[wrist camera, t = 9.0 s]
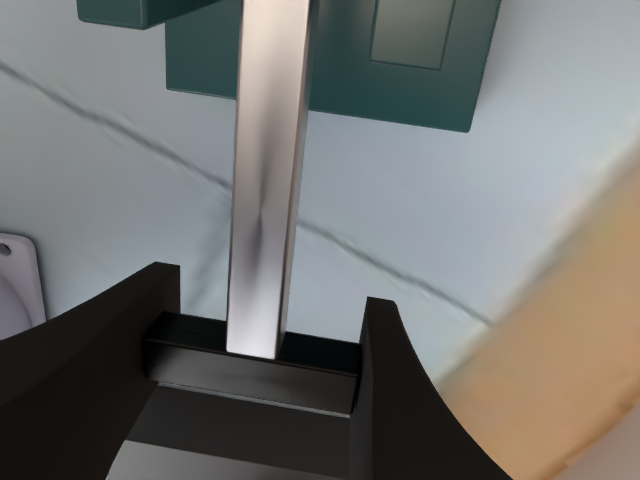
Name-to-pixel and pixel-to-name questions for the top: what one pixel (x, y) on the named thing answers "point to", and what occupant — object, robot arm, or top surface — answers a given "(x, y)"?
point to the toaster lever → (262, 238)
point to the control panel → (230, 441)
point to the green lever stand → (336, 53)
